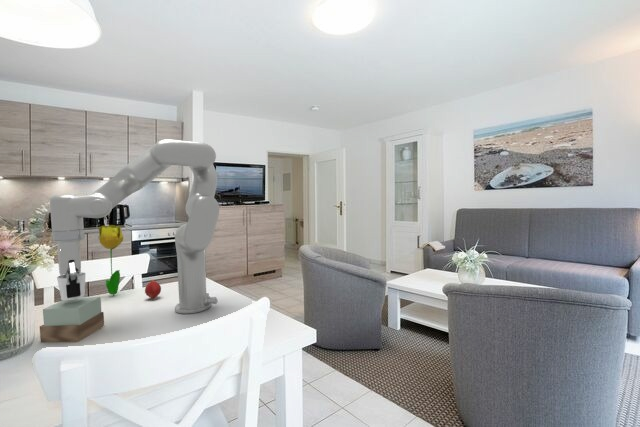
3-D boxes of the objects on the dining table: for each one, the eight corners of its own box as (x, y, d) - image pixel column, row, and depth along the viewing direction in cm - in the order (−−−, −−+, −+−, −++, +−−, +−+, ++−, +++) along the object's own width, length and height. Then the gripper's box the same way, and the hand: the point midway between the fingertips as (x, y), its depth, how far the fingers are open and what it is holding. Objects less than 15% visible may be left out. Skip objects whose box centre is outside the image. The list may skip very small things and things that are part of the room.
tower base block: (104, 326, 103) (103, 311, 103) (78, 342, 92) (77, 326, 92) (70, 327, 103) (69, 312, 103) (40, 343, 92) (39, 326, 92)
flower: (96, 298, 131) (92, 226, 129) (113, 292, 139) (109, 224, 137) (114, 299, 129) (109, 226, 127) (130, 293, 137) (126, 224, 135)
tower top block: (101, 311, 103) (100, 296, 102) (79, 324, 93) (78, 308, 92) (69, 313, 102) (68, 297, 102) (44, 326, 92) (42, 309, 92)
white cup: (54, 299, 96) (52, 276, 95) (79, 292, 102) (78, 271, 101) (65, 302, 92) (63, 279, 92) (91, 295, 98) (90, 273, 98)
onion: (143, 298, 130) (142, 279, 129) (159, 295, 133) (158, 276, 133) (147, 302, 125) (146, 282, 125) (163, 298, 129) (162, 279, 129)
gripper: (51, 234, 100) (56, 290, 101) (53, 240, 87) (58, 304, 88) (81, 232, 105) (85, 285, 106) (87, 237, 92) (91, 298, 93)
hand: (73, 293), depth 97 cm, fingers closed on white cup, 6 cm apart
